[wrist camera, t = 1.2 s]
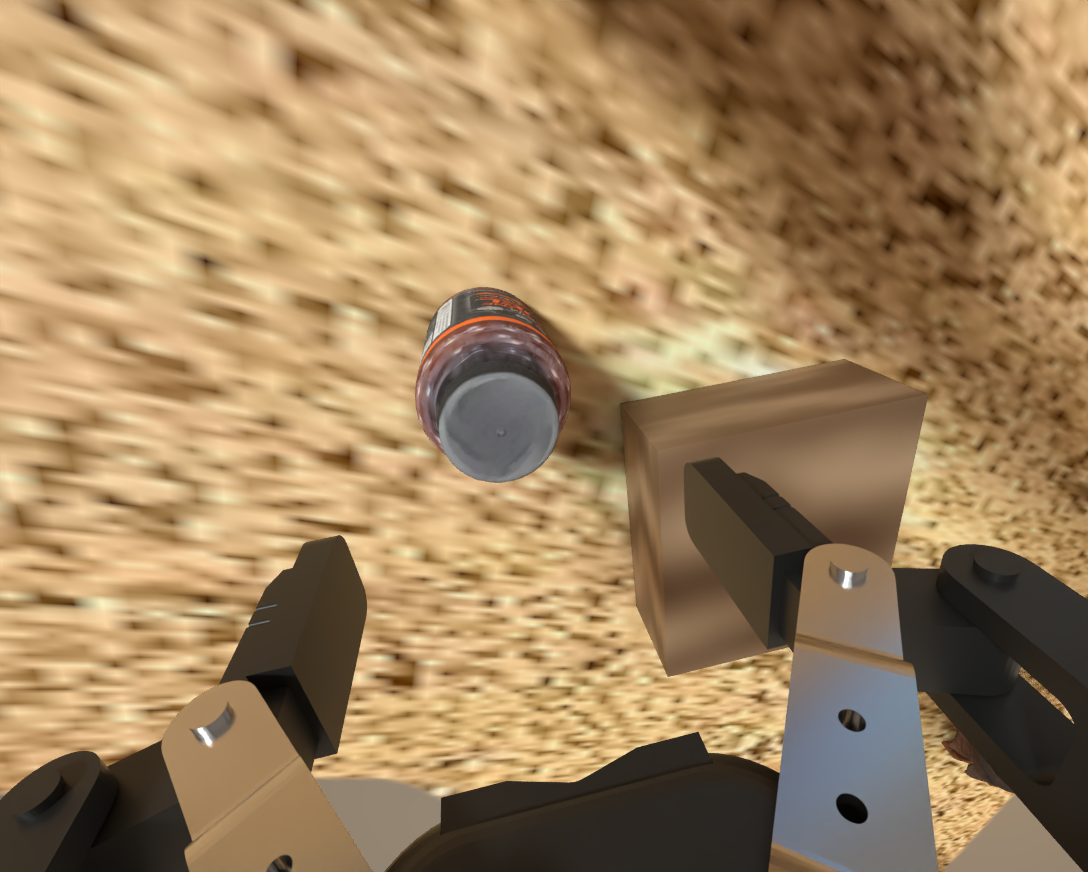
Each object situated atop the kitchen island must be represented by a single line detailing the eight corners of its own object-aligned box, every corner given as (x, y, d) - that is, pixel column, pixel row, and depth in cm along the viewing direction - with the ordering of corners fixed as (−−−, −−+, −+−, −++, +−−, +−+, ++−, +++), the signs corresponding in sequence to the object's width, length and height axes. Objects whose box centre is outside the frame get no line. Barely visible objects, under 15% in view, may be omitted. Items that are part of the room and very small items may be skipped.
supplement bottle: (558, 311, 26) (624, 384, 16) (513, 410, 28) (547, 529, 18) (449, 263, 25) (447, 312, 14) (409, 372, 27) (383, 482, 16)
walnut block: (620, 403, 29) (657, 450, 24) (844, 358, 30) (928, 394, 25) (636, 606, 36) (667, 676, 31) (817, 563, 38) (878, 625, 32)
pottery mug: (909, 748, 52) (969, 804, 44) (912, 656, 53) (972, 694, 44) (1034, 761, 51) (1119, 820, 43) (1037, 666, 52) (1122, 707, 43)
